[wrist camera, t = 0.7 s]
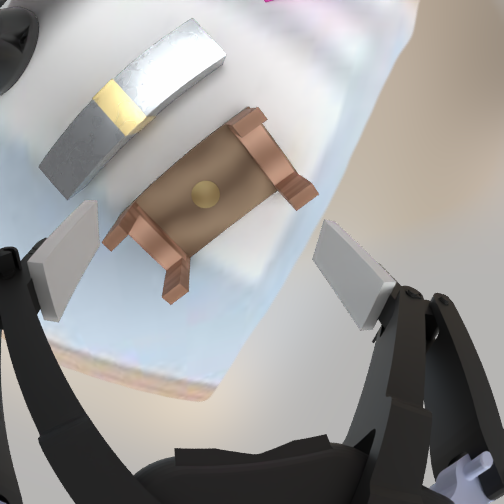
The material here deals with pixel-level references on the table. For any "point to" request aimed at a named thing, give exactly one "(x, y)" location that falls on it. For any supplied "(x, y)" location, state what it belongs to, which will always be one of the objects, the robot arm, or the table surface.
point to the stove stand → (208, 196)
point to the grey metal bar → (130, 105)
